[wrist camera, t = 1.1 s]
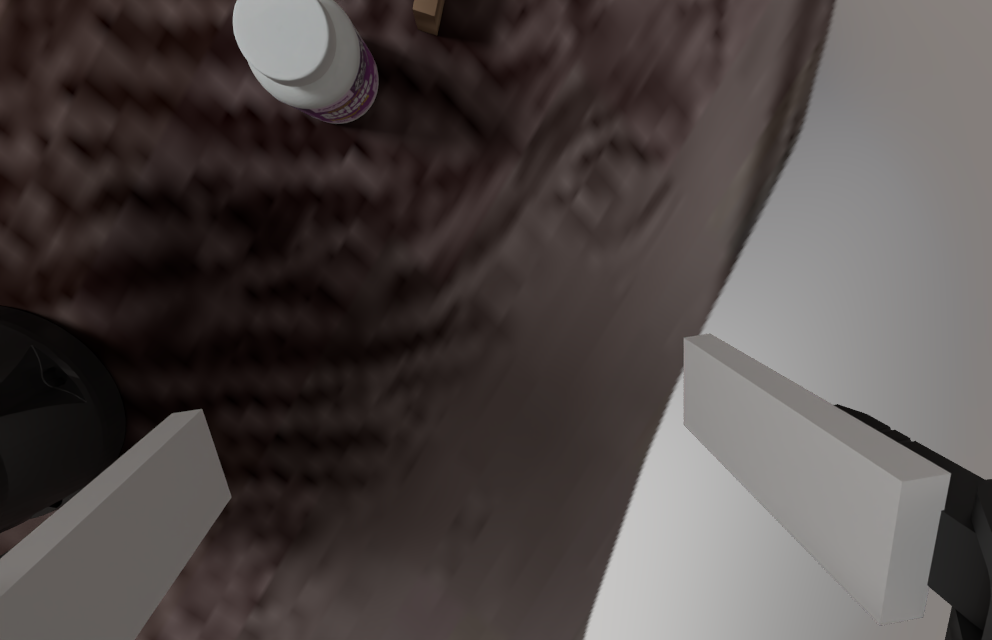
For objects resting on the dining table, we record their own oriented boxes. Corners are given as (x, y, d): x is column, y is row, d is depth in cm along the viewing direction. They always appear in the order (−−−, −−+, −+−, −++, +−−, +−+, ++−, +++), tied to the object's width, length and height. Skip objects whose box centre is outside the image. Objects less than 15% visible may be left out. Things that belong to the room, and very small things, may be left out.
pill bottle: (353, 143, 30) (306, 125, 21) (276, 90, 29) (191, 47, 20) (397, 66, 29) (368, 12, 20) (319, 9, 28) (250, -76, 19)
